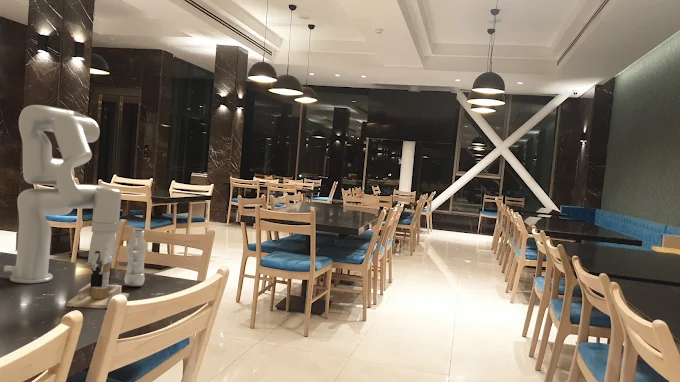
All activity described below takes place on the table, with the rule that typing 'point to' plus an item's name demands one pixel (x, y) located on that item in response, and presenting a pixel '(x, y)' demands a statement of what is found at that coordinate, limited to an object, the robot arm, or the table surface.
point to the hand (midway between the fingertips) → (100, 283)
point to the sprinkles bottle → (102, 291)
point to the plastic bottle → (136, 259)
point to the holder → (87, 301)
